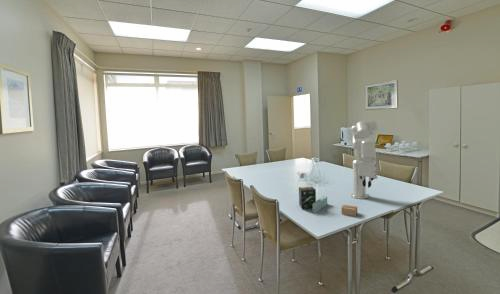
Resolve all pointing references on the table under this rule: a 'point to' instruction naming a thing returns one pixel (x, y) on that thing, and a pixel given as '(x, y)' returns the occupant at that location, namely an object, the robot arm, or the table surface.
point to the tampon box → (307, 197)
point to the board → (319, 204)
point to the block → (349, 210)
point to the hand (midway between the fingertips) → (366, 186)
